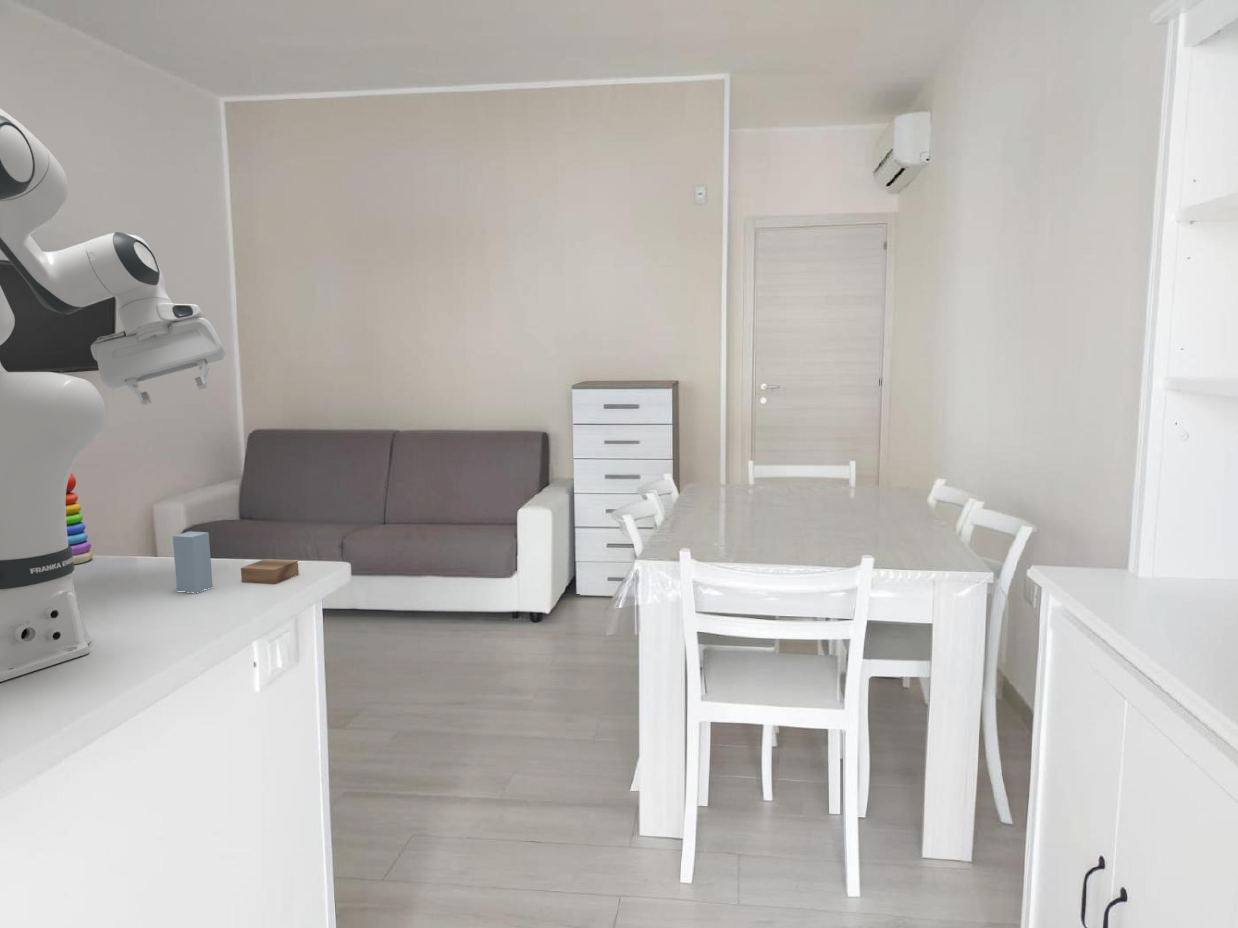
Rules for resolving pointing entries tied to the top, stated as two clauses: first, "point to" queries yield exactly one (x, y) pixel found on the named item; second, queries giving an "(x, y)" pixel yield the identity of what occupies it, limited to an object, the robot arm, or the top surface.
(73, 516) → the stacking toy
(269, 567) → the base block
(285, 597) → the top surface
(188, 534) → the pillar
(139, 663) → the top surface
